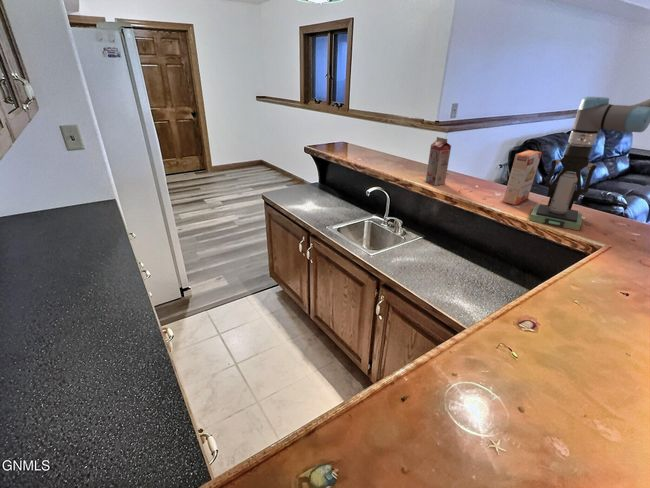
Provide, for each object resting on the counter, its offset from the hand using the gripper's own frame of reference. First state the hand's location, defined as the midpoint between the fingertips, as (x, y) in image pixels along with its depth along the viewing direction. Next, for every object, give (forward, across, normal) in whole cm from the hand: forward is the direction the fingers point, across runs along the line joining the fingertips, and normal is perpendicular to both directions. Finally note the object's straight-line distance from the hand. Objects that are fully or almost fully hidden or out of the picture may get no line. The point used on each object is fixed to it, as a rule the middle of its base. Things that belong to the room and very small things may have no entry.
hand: (559, 206), depth 132 cm
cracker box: (+5, -16, +15) cm, 23 cm away
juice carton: (+5, -54, +20) cm, 58 cm away
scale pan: (+3, 0, 0) cm, 3 cm away
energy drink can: (+2, 0, 0) cm, 2 cm away
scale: (+5, 0, 0) cm, 5 cm away
